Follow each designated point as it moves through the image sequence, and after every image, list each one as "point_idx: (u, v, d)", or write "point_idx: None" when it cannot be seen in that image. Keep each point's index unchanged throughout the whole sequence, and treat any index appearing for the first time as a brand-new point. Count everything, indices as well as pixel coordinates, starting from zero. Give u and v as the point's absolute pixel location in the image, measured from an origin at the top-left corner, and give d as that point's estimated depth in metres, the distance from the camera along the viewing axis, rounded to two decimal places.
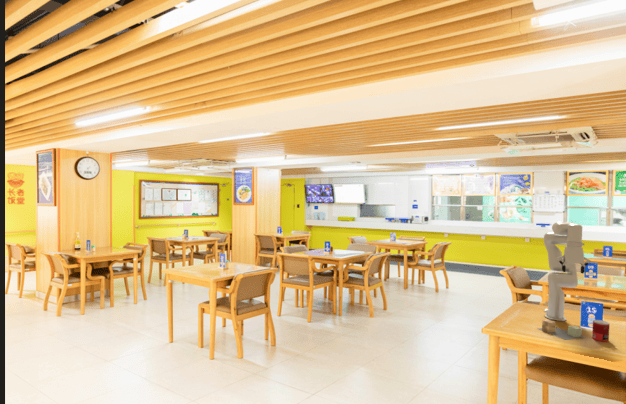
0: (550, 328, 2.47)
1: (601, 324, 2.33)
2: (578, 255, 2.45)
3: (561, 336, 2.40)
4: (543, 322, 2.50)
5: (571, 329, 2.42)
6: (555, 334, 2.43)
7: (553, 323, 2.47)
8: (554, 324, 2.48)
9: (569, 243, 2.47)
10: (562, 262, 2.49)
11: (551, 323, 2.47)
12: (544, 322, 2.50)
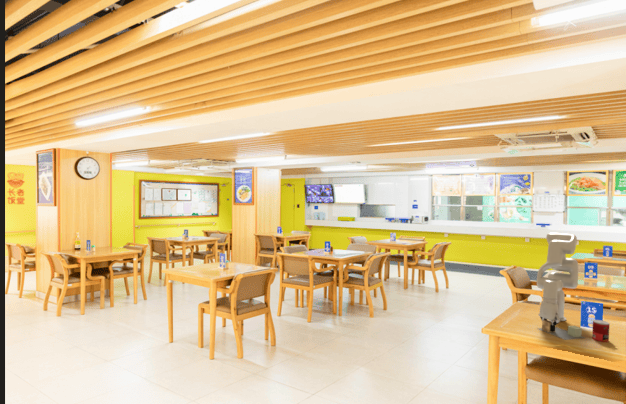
0: None
1: (601, 324, 2.33)
2: None
3: (561, 336, 2.40)
4: (543, 322, 2.50)
5: (571, 329, 2.42)
6: (555, 334, 2.43)
7: None
8: None
9: (556, 300, 2.47)
10: None
11: None
12: (544, 322, 2.50)
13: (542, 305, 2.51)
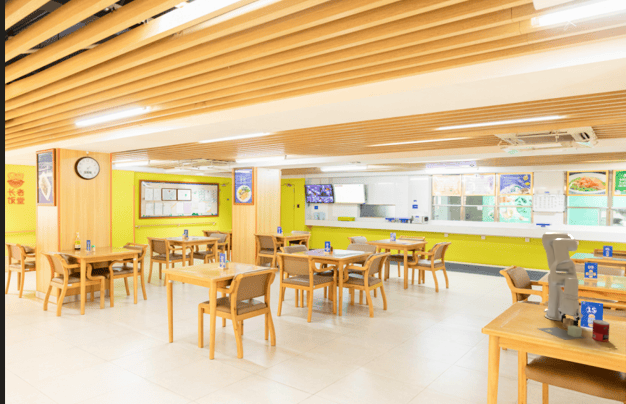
0: None
1: (601, 324, 2.33)
2: None
3: (561, 336, 2.40)
4: (564, 320, 2.58)
5: (571, 329, 2.42)
6: (555, 334, 2.43)
7: None
8: None
9: (577, 296, 2.54)
10: None
11: (572, 321, 2.55)
12: (565, 320, 2.57)
13: (563, 301, 2.59)
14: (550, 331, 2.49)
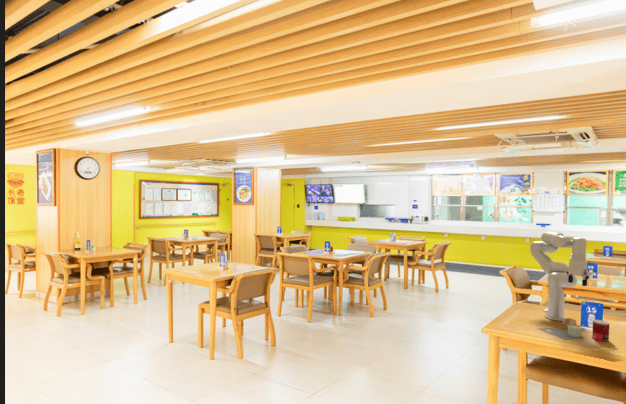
0: None
1: (601, 324, 2.33)
2: None
3: (561, 336, 2.40)
4: (564, 320, 2.58)
5: (571, 329, 2.42)
6: (555, 334, 2.43)
7: (574, 321, 2.55)
8: (575, 322, 2.55)
9: (585, 256, 2.56)
10: None
11: (572, 321, 2.55)
12: (565, 320, 2.57)
13: (571, 262, 2.60)
14: (550, 331, 2.49)
